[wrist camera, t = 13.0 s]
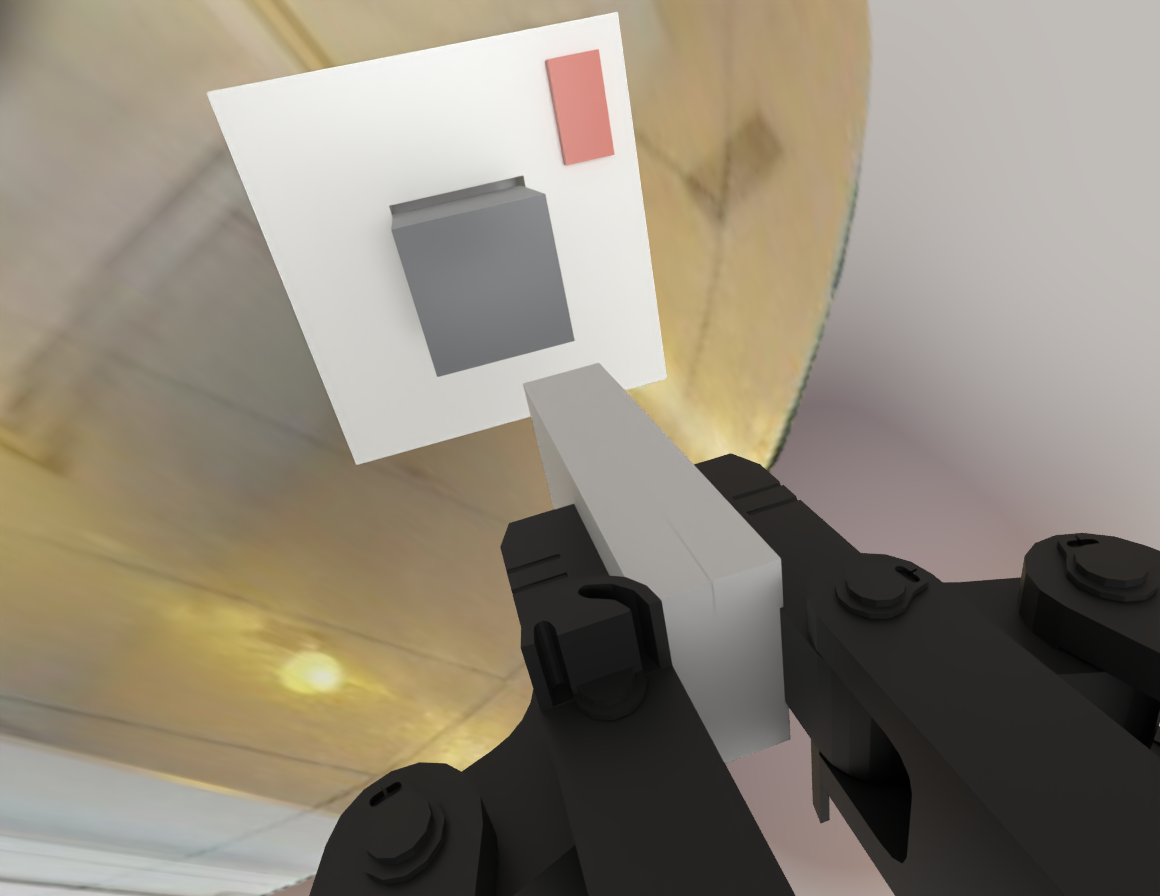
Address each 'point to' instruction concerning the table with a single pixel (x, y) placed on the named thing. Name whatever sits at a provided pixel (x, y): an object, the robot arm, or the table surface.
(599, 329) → the socket plate
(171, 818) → the table surface
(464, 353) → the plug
